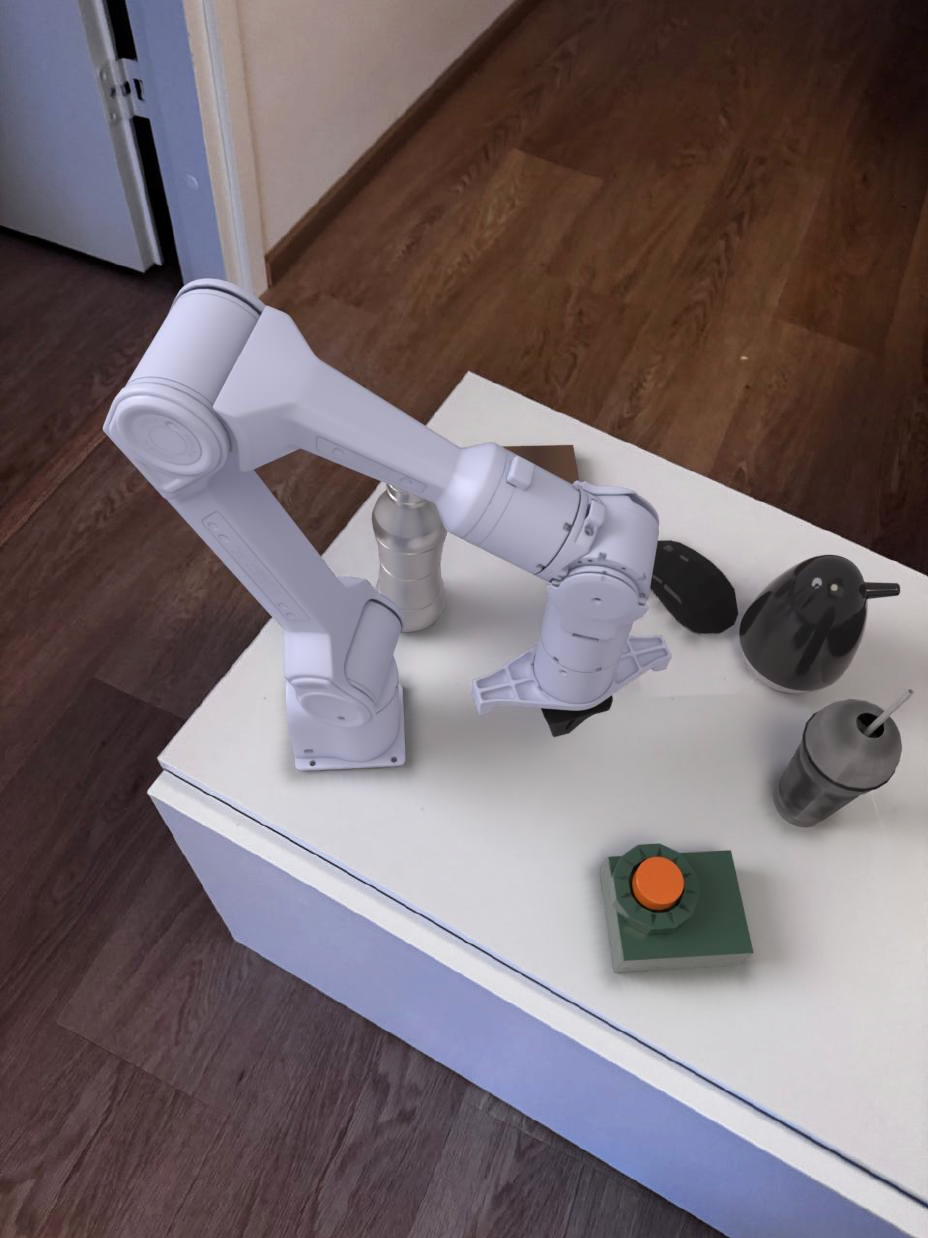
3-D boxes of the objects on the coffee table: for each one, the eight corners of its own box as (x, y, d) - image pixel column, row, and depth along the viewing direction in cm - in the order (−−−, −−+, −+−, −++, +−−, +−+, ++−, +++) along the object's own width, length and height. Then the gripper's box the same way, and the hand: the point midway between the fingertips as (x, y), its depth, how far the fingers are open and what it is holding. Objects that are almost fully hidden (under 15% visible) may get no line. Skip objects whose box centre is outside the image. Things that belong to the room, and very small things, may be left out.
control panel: (474, 552, 97) (475, 540, 95) (465, 459, 103) (466, 445, 102) (586, 549, 98) (589, 536, 96) (570, 457, 104) (573, 443, 102)
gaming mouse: (652, 516, 100) (660, 492, 97) (748, 619, 94) (761, 597, 91) (604, 542, 98) (611, 518, 95) (699, 649, 92) (710, 627, 89)
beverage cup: (742, 778, 85) (824, 668, 68) (813, 753, 87) (910, 638, 70) (784, 854, 82) (882, 758, 65) (857, 826, 83) (971, 725, 66)
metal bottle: (367, 592, 94) (357, 453, 77) (434, 577, 95) (439, 436, 78) (384, 647, 91) (378, 515, 74) (453, 631, 92) (463, 497, 75)
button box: (610, 973, 76) (624, 955, 71) (595, 870, 80) (608, 846, 75) (738, 965, 77) (761, 947, 72) (716, 863, 81) (736, 839, 76)
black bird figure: (838, 719, 89) (910, 633, 76) (724, 697, 90) (777, 608, 77) (837, 627, 94) (904, 532, 81) (730, 606, 95) (780, 509, 82)
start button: (635, 911, 73) (640, 905, 72) (628, 865, 75) (632, 857, 74) (682, 909, 73) (688, 902, 72) (674, 862, 75) (679, 855, 74)
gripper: (658, 566, 69) (623, 661, 80) (462, 610, 66) (455, 702, 77) (699, 649, 65) (656, 736, 77) (493, 700, 62) (481, 782, 74)
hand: (557, 724), depth 77 cm, fingers closed
